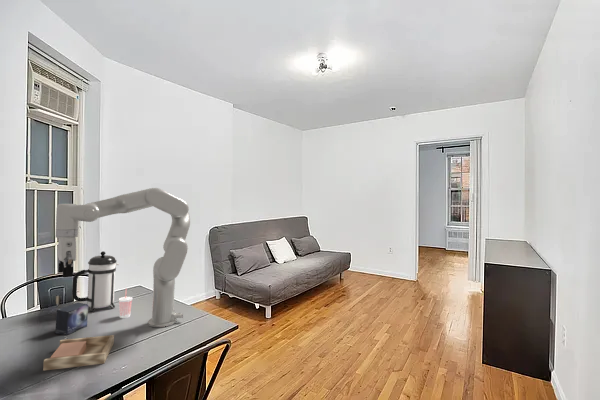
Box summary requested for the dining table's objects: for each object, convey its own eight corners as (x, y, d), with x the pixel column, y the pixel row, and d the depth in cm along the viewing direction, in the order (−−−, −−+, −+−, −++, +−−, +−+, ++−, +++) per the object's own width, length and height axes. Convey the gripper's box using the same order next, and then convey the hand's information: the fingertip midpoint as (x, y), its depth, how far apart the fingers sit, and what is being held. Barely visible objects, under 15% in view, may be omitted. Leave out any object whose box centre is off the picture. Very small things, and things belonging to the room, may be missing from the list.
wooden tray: (113, 345, 128) (114, 334, 128) (104, 365, 113) (104, 353, 113) (60, 350, 122) (60, 339, 122) (43, 372, 107) (43, 360, 107)
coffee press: (97, 301, 176) (99, 248, 176) (123, 304, 174) (125, 250, 174) (70, 312, 159) (72, 253, 159) (98, 315, 157) (101, 255, 157)
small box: (66, 336, 134) (67, 311, 134) (54, 334, 135) (55, 309, 135) (88, 326, 144) (89, 303, 144) (76, 324, 146) (77, 302, 146)
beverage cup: (128, 313, 162) (129, 286, 162) (133, 316, 158) (135, 288, 158) (115, 316, 157) (117, 288, 157) (120, 319, 153) (122, 291, 153)
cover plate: (86, 348, 123) (86, 341, 123) (76, 363, 112) (77, 354, 112) (61, 351, 120) (61, 343, 120) (49, 366, 109) (50, 357, 109)
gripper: (82, 235, 128) (80, 277, 128) (73, 230, 140) (71, 269, 140) (59, 236, 123) (57, 280, 123) (52, 231, 135) (50, 271, 135)
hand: (65, 274), depth 131 cm, fingers open, 9 cm apart
